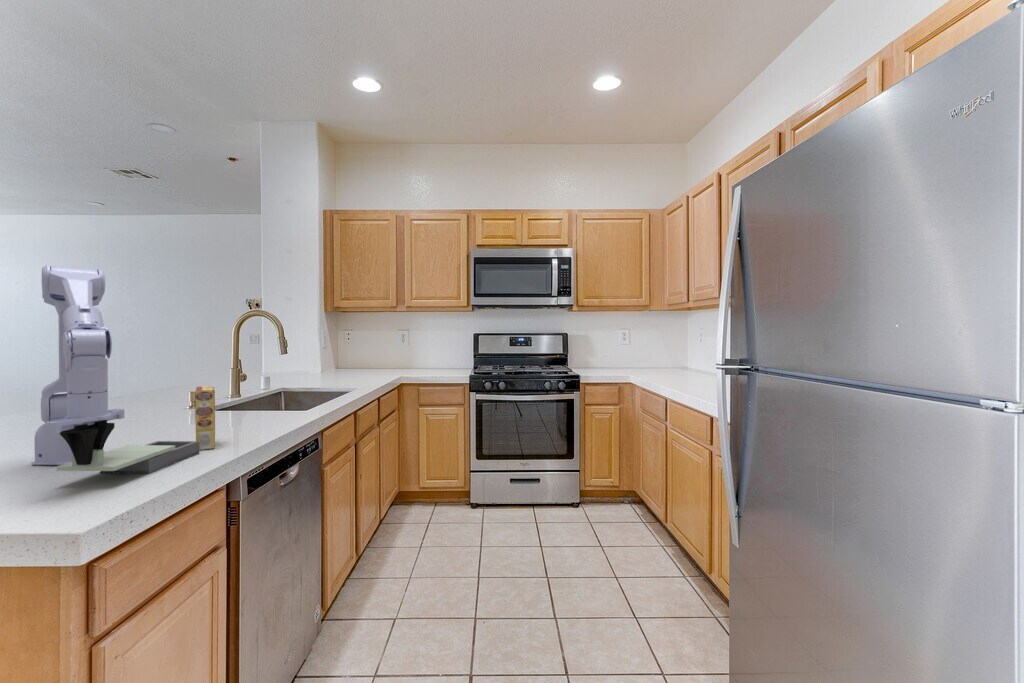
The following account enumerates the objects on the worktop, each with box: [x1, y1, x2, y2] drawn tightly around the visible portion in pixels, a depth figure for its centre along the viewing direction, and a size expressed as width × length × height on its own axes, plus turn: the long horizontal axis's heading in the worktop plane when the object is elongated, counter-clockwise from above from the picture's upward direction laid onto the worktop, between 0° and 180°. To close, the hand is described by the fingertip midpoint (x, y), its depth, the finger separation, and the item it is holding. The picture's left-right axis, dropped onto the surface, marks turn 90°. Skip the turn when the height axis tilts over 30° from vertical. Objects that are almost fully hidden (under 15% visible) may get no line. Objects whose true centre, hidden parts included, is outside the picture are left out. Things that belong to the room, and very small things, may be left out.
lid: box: [56, 444, 175, 472], centre depth 94 cm, size 11×16×4 cm, turn 2°
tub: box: [99, 440, 200, 475], centre depth 103 cm, size 10×16×3 cm, turn 1°
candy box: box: [194, 385, 216, 451], centre depth 118 cm, size 9×4×15 cm, turn 33°
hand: (88, 463), depth 87 cm, fingers closed on lid
